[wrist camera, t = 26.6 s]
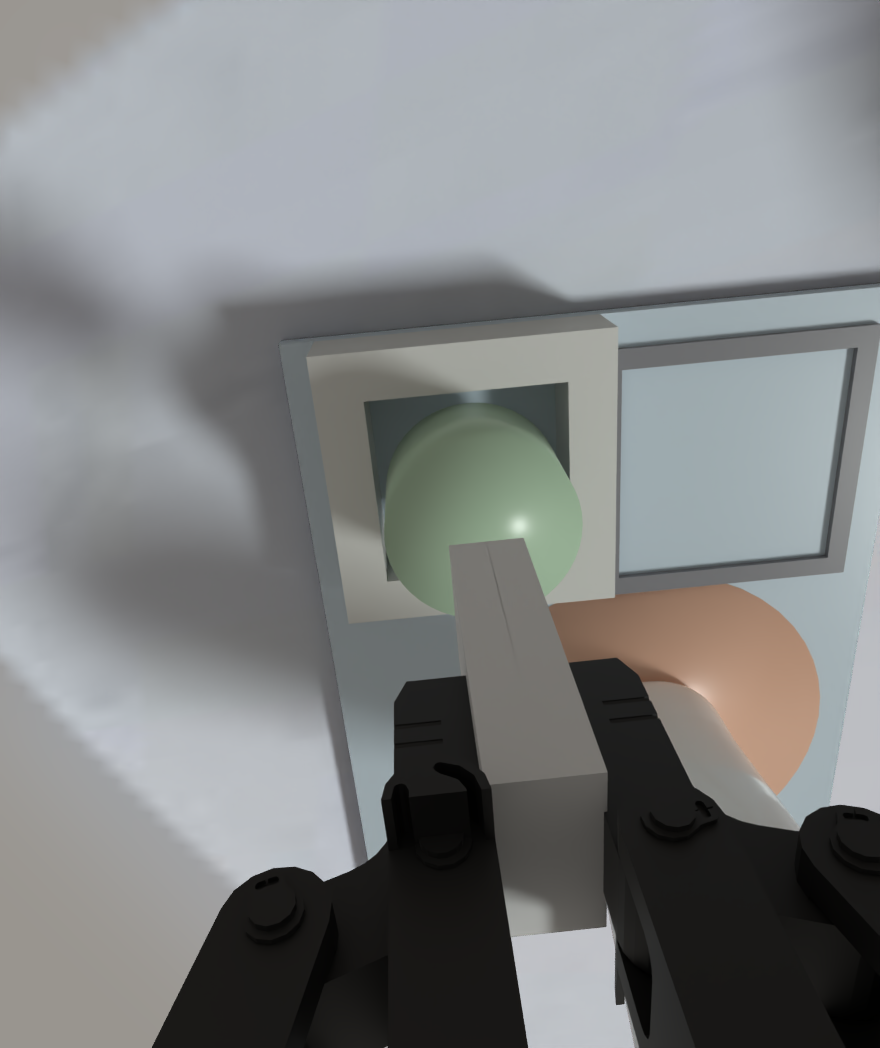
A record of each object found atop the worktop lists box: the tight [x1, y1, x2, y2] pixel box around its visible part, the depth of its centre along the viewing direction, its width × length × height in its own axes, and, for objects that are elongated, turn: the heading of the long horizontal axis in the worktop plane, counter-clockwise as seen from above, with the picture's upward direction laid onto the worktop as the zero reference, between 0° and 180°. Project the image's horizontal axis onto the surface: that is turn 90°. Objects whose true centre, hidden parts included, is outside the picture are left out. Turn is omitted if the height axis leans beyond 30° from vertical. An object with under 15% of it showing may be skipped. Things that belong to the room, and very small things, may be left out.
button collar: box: [306, 314, 618, 624], centre depth 22 cm, size 8×8×2 cm
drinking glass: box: [607, 681, 801, 1048], centre depth 21 cm, size 7×7×15 cm
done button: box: [384, 403, 583, 616], centre depth 20 cm, size 5×5×3 cm
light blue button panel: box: [278, 283, 880, 860], centre depth 26 cm, size 18×22×1 cm
